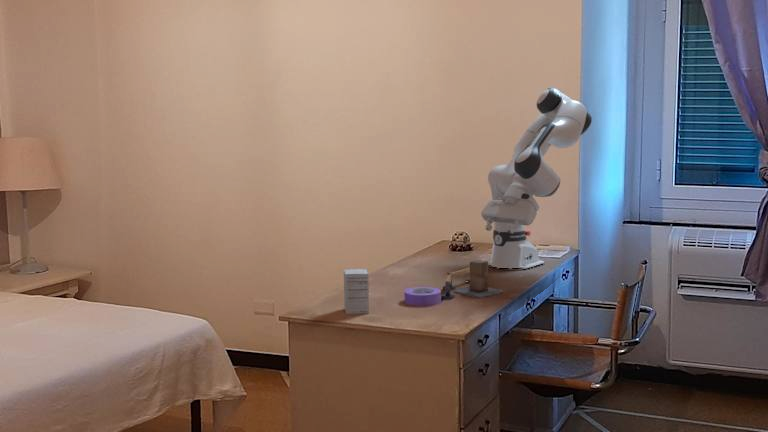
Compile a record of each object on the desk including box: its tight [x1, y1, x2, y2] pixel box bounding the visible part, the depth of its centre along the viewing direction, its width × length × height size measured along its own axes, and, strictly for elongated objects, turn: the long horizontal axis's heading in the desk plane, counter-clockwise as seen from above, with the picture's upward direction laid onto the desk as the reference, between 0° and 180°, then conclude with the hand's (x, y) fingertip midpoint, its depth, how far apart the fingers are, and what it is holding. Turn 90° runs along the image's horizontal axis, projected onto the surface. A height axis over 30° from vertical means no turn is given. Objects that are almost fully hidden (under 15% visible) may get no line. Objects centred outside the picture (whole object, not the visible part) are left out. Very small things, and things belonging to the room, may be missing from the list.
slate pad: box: [453, 287, 505, 299], centre depth 305 cm, size 12×12×1 cm
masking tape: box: [403, 286, 442, 307], centre depth 292 cm, size 12×12×4 cm
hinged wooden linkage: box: [441, 266, 470, 300], centre depth 310 cm, size 32×8×6 cm, turn 158°
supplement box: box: [343, 268, 370, 315], centre depth 279 cm, size 7×7×13 cm
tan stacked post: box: [469, 259, 489, 293], centre depth 304 cm, size 4×4×10 cm
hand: (498, 230), depth 311 cm, fingers open, 8 cm apart
